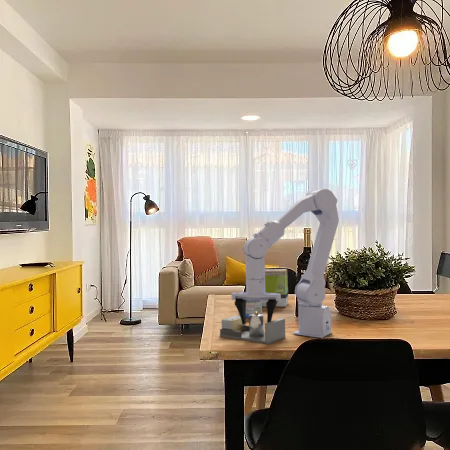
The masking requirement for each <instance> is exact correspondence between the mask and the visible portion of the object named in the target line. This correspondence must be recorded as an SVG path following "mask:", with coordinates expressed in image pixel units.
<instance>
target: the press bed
mask: <svg viewBox="0 0 450 450" xmlns="http://www.w3.org/2000/svg"><path fill="white" fill-rule="evenodd" d="M219 337H223V338H228V339H235V340H241V341H248V342H254V343H260V344H267V345H272V344H274V343H276V342H279V341H281V340H283V339H286V318H282V317H279V318H277V319H274V320H271V322H268V323H267V322H266V323H265V322H264V336H263V337H251V336H249V324H248V325H246V330H244V331H241V332H239V331H232V330H225V329H222V328H220V329H219Z"/></svg>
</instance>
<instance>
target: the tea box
mask: <svg viewBox="0 0 450 450" xmlns="http://www.w3.org/2000/svg"><path fill="white" fill-rule="evenodd" d="M288 279H289V278H288V269H287V268H278V269H277V268H274V269H273V268H265V293H277V294H281V300H280V301H278V302H277V304H276V307H275V308H278V307H282V308H285V307H287V305H288V304H289V286H288V284H289V282H288ZM267 301H268V300H262V307H267V306H266V302H267Z"/></svg>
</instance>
